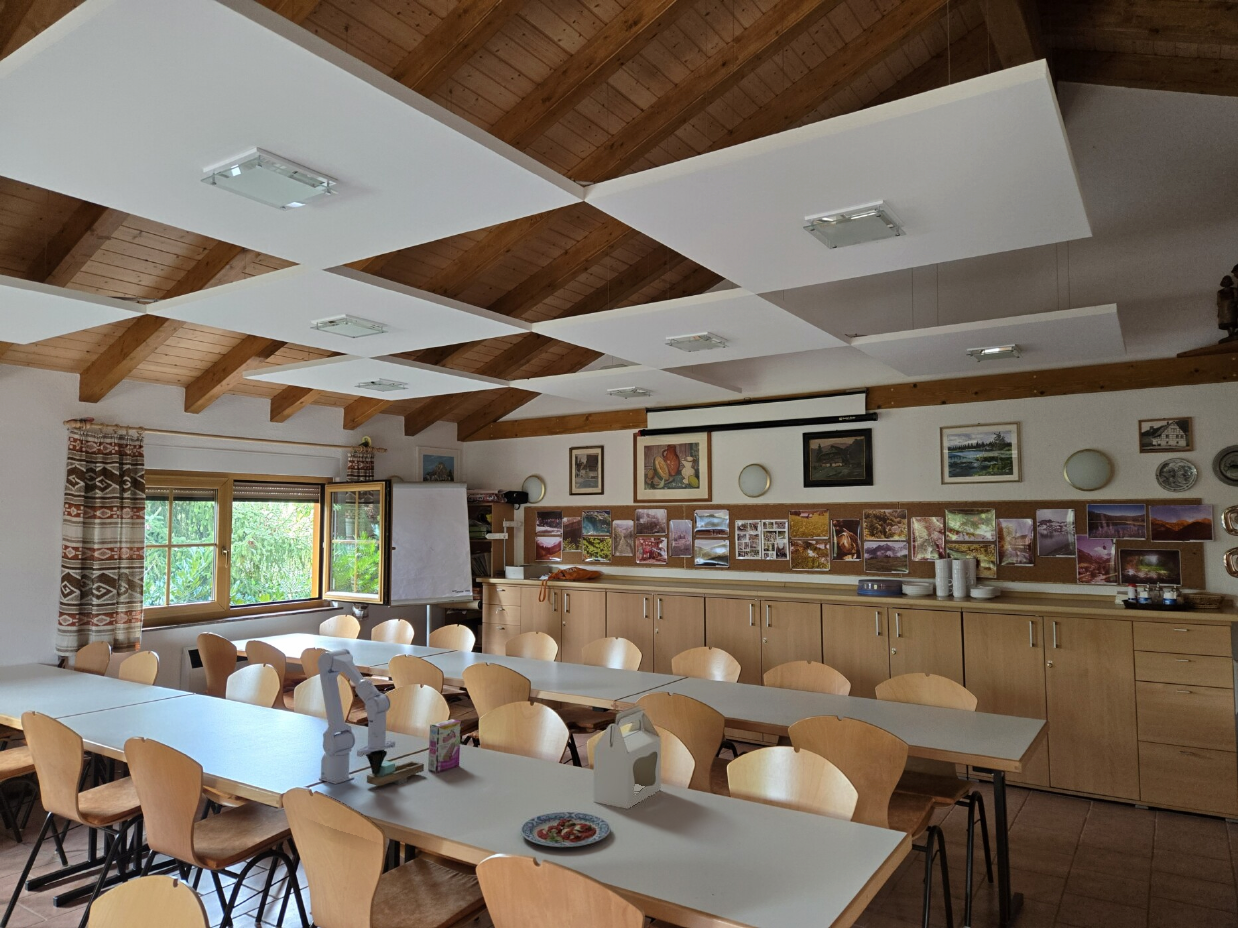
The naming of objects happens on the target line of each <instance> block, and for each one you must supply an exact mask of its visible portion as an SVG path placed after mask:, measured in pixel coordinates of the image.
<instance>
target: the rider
mask: <svg viewBox="0 0 1238 928" xmlns="http://www.w3.org/2000/svg"><path fill="white" fill-rule="evenodd" d="M395 766H396V763H395V762H392V761H387V760H383V762H382V765H381V769H380V772H379V774H377V777H381V776H385V775H388V774H391V773H393V771H395Z"/></svg>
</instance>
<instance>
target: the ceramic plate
mask: <svg viewBox="0 0 1238 928" xmlns="http://www.w3.org/2000/svg"><path fill="white" fill-rule="evenodd" d="M610 833H611V825H610V824H609V822H607V820H605V819H604V818H602V817H599V816H597V815H594V814H592V813H591V814H590V813H585V812H578V811H577V812H576V811H559V812H557V811H556V812H549V813H545V814H540V815H537V816H535V817H532V818H529V819H528V820H526V821H524V823H523V824H522V825H521V826H520V834H521V835H522V837H524V838H525V839H526V840H528V841H530V842H531V843H534V844H538V845H540V846H541V845H542V846H547V847H553V848H554V847H558V848H567V847H568V848H569V847H572V848H573V847H580V846H586V845H589V844H593V843H597V842H598V841H600V840H603V839H604V838H606V837H607V836H608V835H609V834H610Z"/></svg>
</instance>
